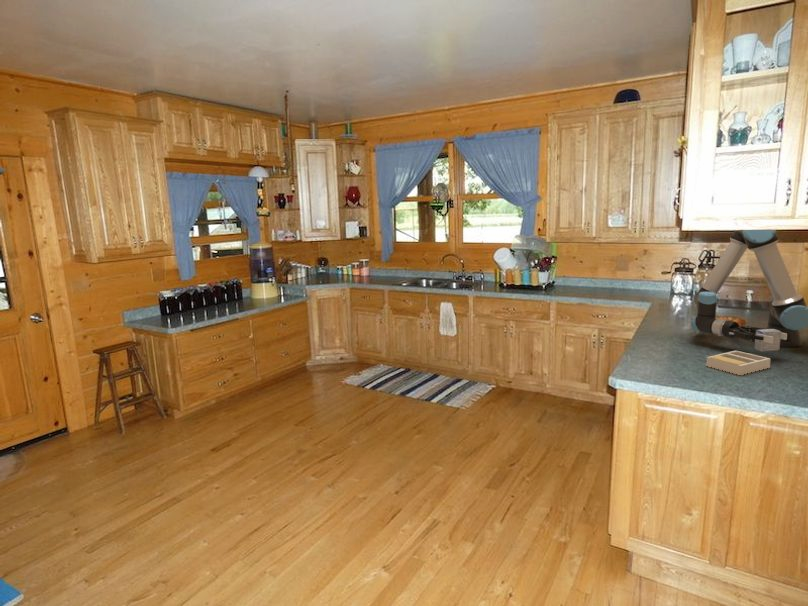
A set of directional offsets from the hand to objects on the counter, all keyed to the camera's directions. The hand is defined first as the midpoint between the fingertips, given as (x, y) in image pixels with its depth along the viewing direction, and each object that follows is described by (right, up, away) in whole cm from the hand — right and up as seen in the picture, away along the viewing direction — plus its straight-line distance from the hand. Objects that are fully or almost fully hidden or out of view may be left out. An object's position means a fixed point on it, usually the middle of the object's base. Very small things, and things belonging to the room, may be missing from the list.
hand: (779, 338), depth 206 cm
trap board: (-19, -12, -2) cm, 22 cm away
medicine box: (-1, -6, +5) cm, 8 cm away
